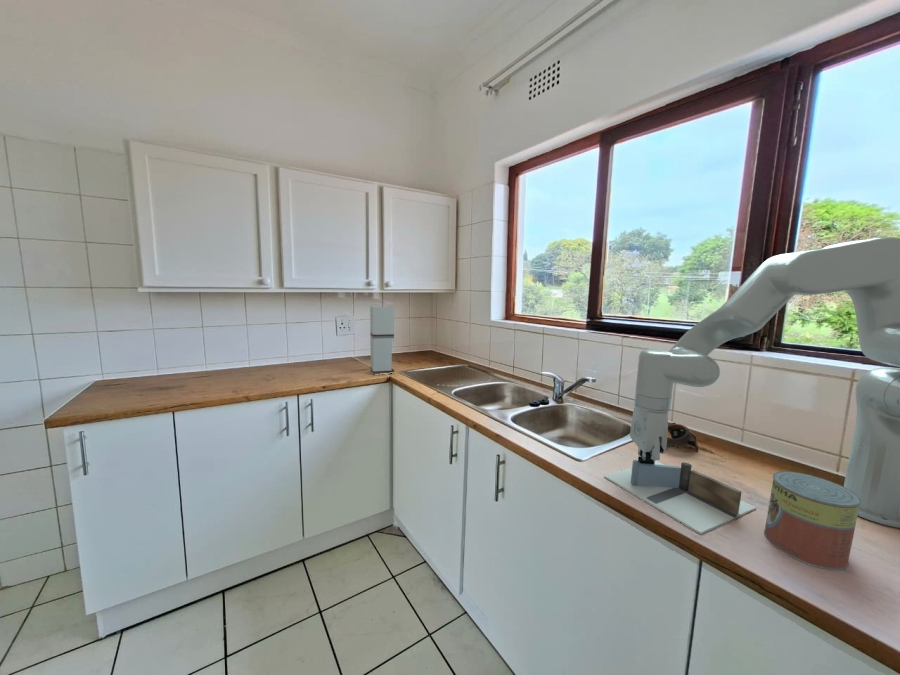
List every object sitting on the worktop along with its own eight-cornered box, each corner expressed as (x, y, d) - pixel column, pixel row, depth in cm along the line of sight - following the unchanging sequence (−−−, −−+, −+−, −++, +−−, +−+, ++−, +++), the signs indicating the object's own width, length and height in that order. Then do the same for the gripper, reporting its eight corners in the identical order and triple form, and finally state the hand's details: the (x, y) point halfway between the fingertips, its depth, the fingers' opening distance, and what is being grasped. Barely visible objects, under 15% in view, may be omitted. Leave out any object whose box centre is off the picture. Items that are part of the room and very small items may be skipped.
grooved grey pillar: (393, 374, 189) (393, 307, 184) (373, 375, 186) (372, 307, 181) (390, 369, 200) (390, 306, 195) (370, 370, 196) (370, 306, 191)
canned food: (757, 519, 75) (766, 465, 73) (833, 540, 69) (844, 481, 67) (772, 553, 65) (782, 492, 63) (861, 580, 59) (875, 513, 58)
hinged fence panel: (675, 485, 86) (678, 463, 85) (678, 488, 84) (681, 466, 83) (629, 482, 87) (631, 460, 86) (631, 485, 85) (634, 462, 85)
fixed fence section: (739, 516, 76) (743, 487, 75) (733, 519, 75) (738, 489, 74) (681, 487, 86) (684, 461, 85) (676, 489, 85) (679, 463, 84)
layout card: (756, 509, 78) (757, 507, 78) (701, 535, 70) (702, 532, 69) (656, 461, 99) (656, 460, 99) (603, 477, 90) (604, 475, 90)
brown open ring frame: (707, 458, 103) (698, 436, 101) (671, 467, 106) (663, 445, 104) (689, 432, 114) (681, 411, 112) (657, 440, 117) (649, 420, 115)
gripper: (625, 391, 94) (618, 458, 96) (648, 411, 79) (640, 489, 81) (655, 393, 93) (648, 460, 95) (685, 413, 78) (675, 492, 80)
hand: (644, 473), depth 88 cm, fingers closed
